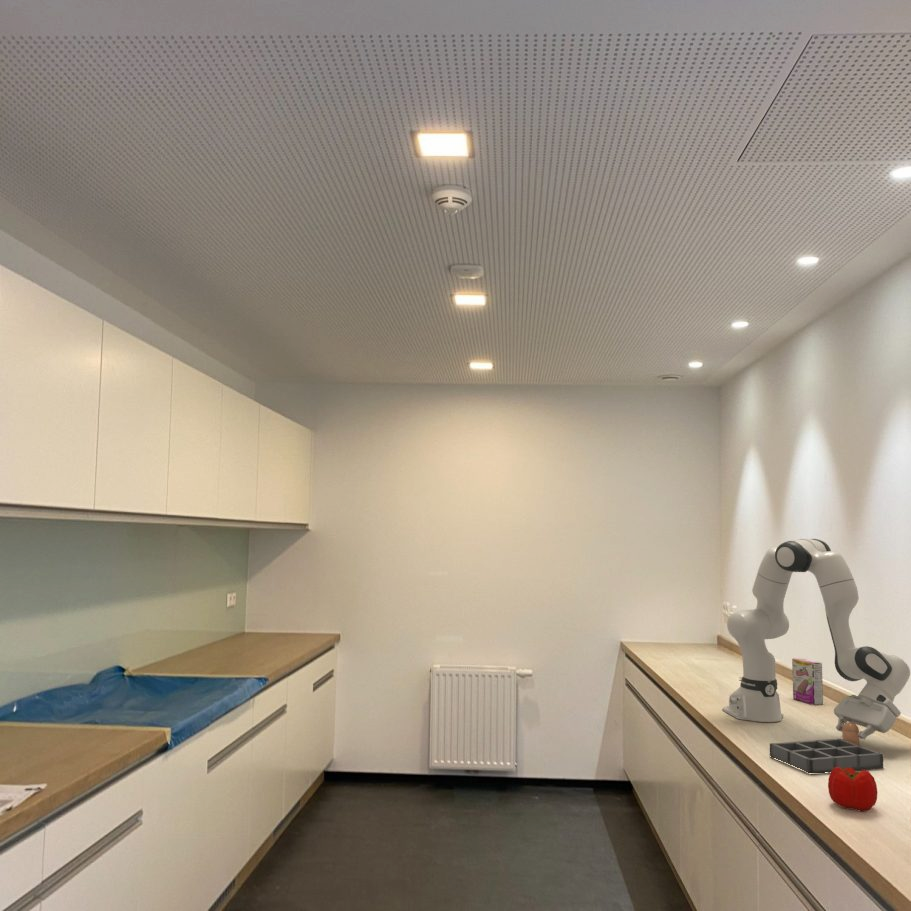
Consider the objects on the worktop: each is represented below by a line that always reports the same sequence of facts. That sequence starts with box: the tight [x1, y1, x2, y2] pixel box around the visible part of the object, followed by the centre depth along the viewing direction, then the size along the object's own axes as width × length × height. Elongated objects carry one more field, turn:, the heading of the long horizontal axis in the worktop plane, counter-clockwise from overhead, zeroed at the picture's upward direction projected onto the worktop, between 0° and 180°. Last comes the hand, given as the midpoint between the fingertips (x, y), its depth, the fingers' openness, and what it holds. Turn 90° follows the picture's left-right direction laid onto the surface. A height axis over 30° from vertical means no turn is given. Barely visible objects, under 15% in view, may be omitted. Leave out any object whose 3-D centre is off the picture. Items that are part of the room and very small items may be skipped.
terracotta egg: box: [841, 721, 861, 746], centre depth 248 cm, size 5×5×8 cm
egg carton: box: [769, 738, 884, 774], centre depth 233 cm, size 17×25×4 cm
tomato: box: [827, 767, 878, 812], centre depth 196 cm, size 11×12×9 cm
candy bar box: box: [791, 657, 824, 706], centre depth 315 cm, size 11×5×16 cm, turn 22°
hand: (849, 733), depth 248 cm, fingers open, 8 cm apart
